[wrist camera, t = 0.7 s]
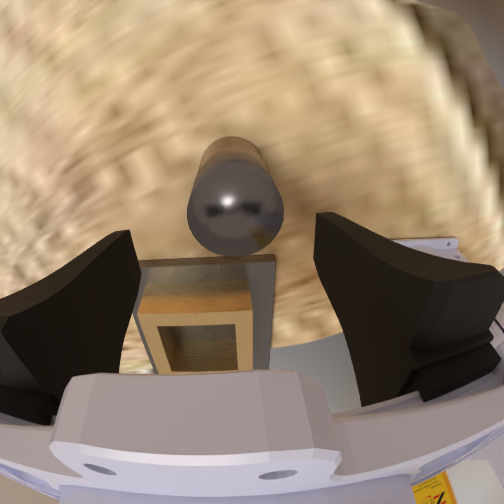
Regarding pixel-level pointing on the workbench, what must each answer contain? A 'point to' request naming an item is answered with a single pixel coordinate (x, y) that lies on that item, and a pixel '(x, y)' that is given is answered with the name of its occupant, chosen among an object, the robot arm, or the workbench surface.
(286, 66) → the workbench surface
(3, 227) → the workbench surface
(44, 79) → the workbench surface
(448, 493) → the packaging box
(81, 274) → the robot arm
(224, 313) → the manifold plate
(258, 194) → the dark grey cylinder
